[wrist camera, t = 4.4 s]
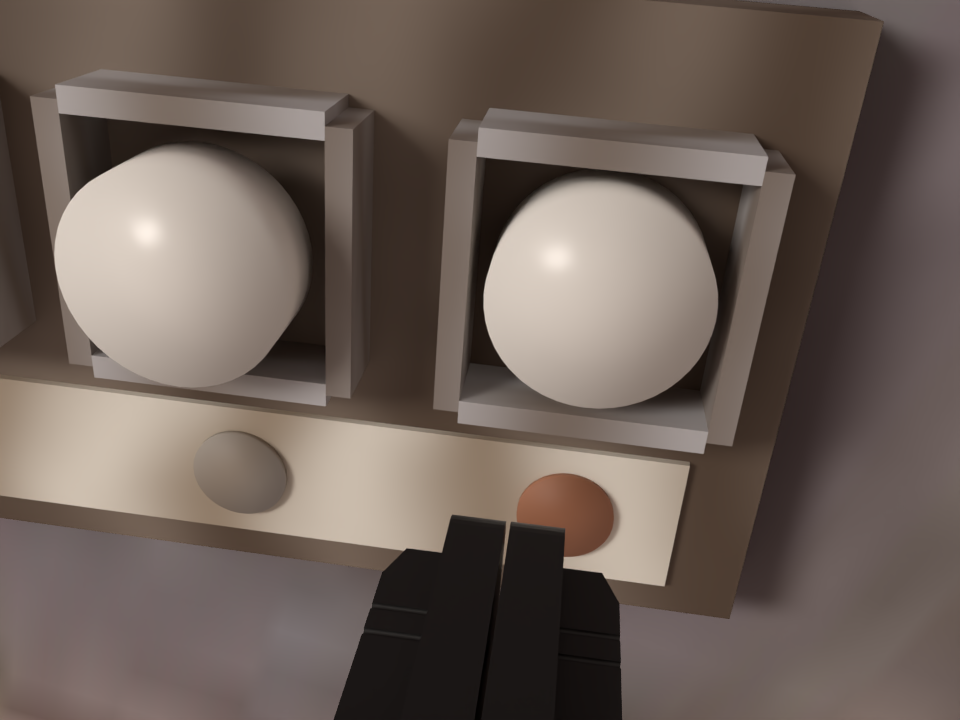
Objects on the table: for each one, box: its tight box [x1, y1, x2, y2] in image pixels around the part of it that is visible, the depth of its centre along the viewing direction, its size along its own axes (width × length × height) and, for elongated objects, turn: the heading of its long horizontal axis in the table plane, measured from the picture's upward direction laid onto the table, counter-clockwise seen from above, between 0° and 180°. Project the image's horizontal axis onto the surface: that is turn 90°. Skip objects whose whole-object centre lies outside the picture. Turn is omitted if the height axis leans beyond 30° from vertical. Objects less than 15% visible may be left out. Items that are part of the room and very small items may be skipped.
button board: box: [0, 0, 884, 619], centre depth 23 cm, size 28×16×4 cm, turn 86°
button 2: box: [484, 169, 718, 409], centre depth 21 cm, size 5×5×2 cm
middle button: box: [54, 141, 313, 388], centre depth 20 cm, size 5×5×2 cm
